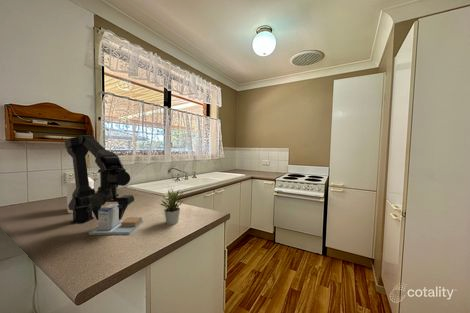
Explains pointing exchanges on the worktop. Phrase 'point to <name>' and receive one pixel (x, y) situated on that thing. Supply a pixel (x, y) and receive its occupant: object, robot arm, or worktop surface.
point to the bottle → (71, 188)
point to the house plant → (172, 207)
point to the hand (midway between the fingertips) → (109, 219)
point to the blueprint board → (120, 227)
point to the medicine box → (108, 217)
